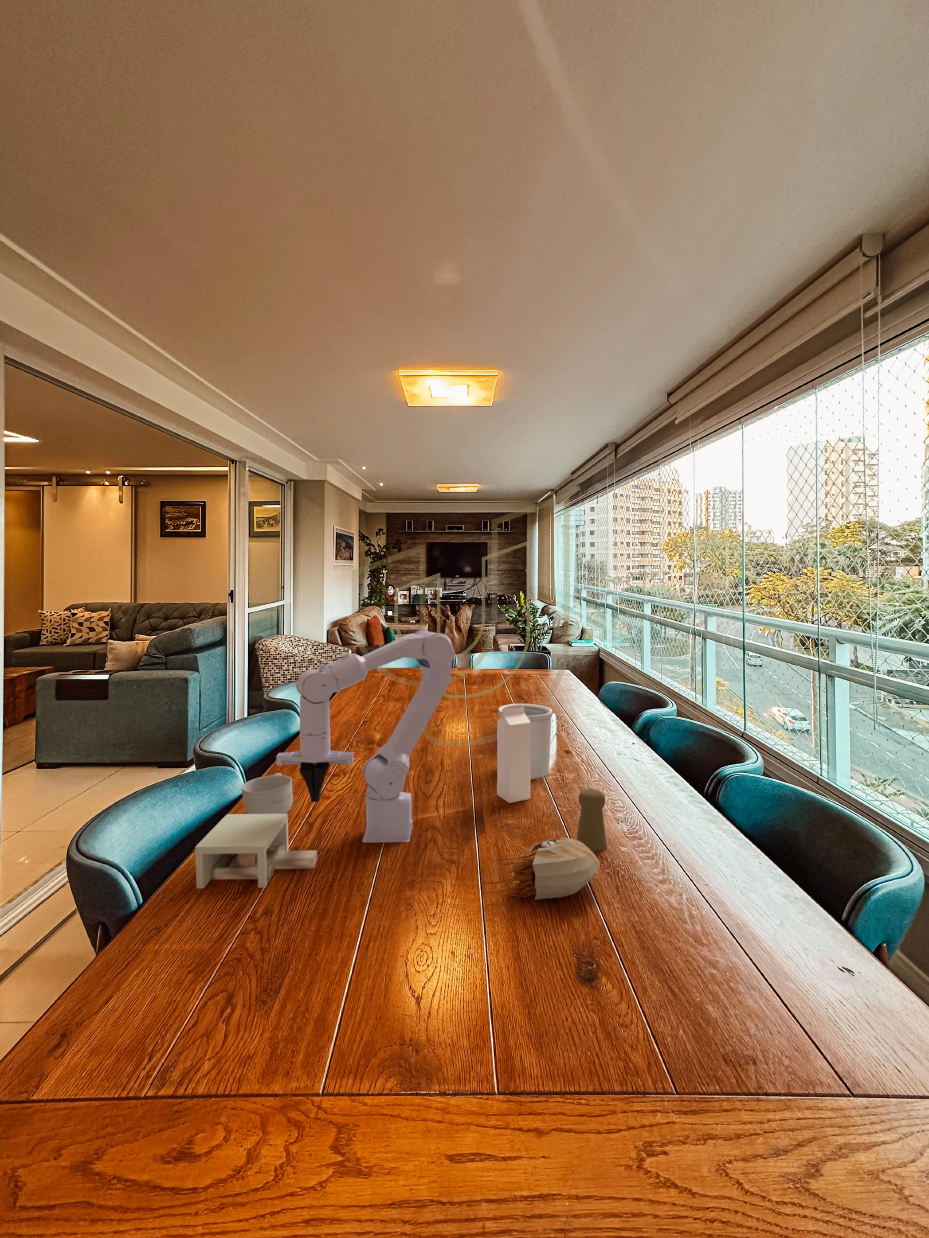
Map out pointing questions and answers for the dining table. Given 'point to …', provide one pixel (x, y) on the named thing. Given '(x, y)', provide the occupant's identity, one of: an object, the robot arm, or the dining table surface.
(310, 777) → the robot arm
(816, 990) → the dining table surface
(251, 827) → the grey bridge stand
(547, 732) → the utensil holder
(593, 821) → the pepper mill
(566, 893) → the nautilus
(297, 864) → the drawer with block handle
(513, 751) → the milk
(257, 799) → the teacup
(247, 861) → the tan rounded block
